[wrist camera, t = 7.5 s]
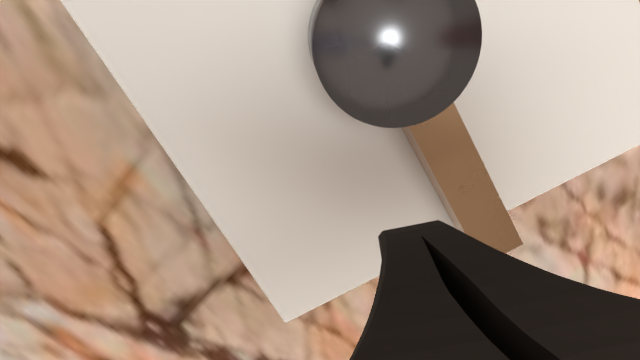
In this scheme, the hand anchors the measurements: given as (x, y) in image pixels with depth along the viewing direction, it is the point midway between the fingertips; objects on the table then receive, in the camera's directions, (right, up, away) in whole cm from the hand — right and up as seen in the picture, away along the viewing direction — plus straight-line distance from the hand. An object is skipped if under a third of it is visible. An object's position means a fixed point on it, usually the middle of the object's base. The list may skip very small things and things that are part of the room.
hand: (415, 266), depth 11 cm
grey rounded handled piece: (+1, +5, +8) cm, 9 cm away
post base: (0, +7, +8) cm, 11 cm away
